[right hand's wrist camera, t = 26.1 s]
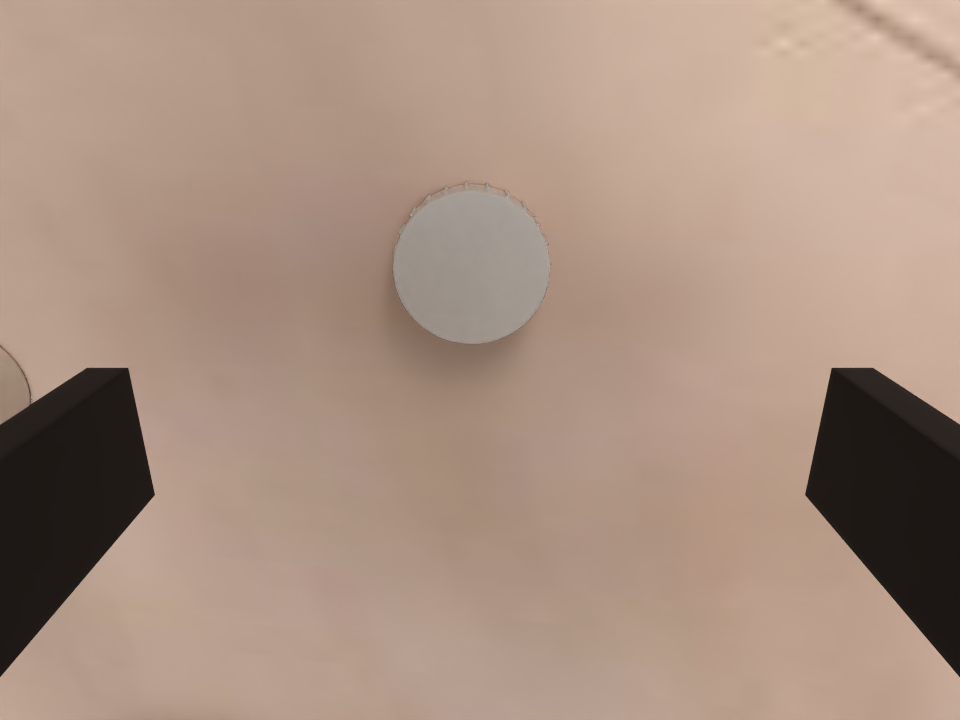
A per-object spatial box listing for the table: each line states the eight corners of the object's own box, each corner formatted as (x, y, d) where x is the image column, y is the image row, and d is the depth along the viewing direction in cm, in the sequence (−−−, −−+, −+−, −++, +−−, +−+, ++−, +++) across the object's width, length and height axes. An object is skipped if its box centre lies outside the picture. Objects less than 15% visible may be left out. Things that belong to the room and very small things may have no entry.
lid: (464, 356, 23) (464, 375, 22) (365, 250, 22) (357, 263, 20) (576, 266, 22) (584, 279, 20) (479, 147, 20) (480, 152, 19)
